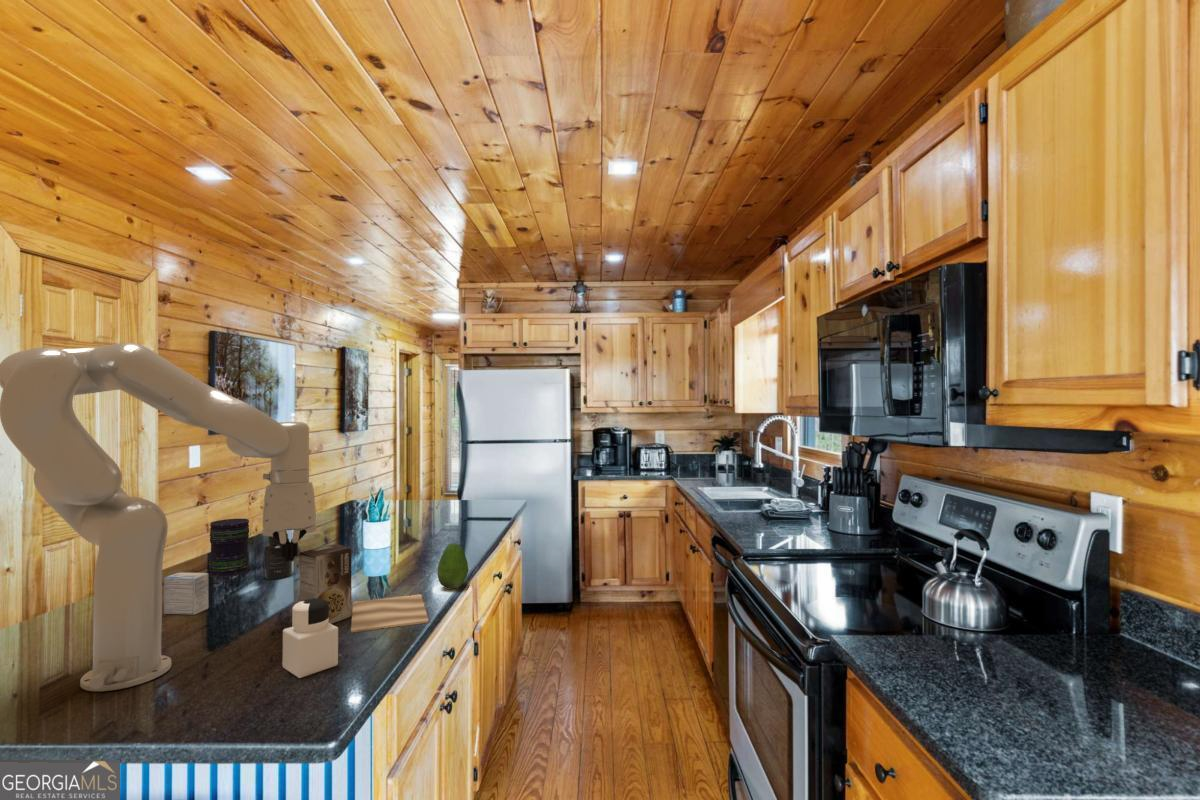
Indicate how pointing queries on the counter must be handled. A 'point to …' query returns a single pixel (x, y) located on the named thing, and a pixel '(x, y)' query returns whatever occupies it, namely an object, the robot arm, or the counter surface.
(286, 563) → the supplement bottle
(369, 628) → the wooden cutting board
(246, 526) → the dark purple cylinder
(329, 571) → the coffee box
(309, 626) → the medicine bottle
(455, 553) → the avocado
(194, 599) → the medicine box
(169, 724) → the counter surface
